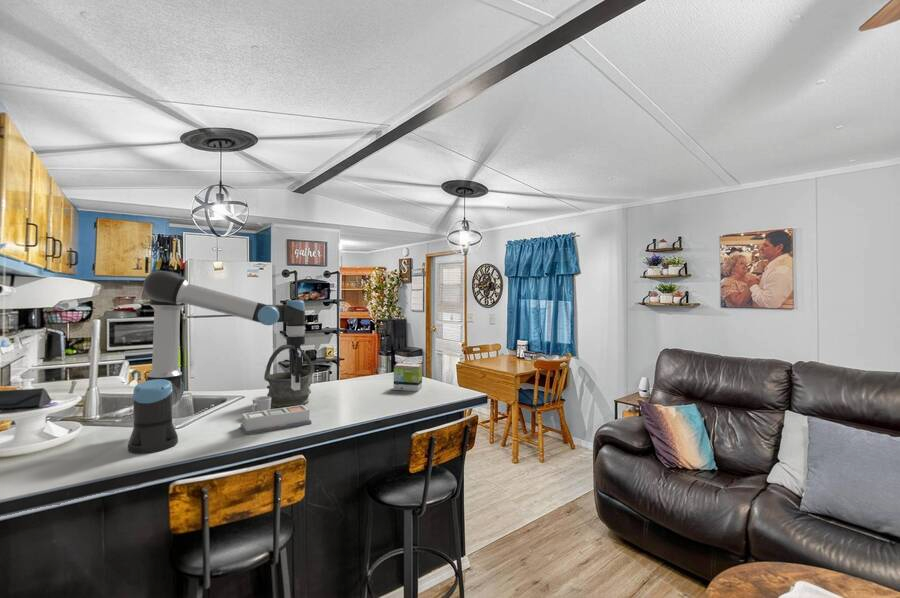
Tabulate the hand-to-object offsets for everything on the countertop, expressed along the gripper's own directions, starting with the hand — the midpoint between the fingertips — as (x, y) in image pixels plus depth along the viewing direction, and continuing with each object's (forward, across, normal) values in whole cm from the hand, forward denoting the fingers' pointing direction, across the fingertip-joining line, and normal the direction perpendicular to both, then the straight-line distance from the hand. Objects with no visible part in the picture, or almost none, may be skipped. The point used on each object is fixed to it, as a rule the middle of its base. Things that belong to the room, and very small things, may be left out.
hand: (295, 389), depth 185 cm
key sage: (+11, 0, +8) cm, 14 cm away
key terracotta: (+11, 0, 0) cm, 11 cm away
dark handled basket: (+15, +34, -6) cm, 38 cm away
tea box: (+15, +28, -72) cm, 79 cm away
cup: (+15, +18, +11) cm, 26 cm away
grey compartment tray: (+15, 0, +8) cm, 17 cm away
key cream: (+11, 0, +16) cm, 19 cm away
